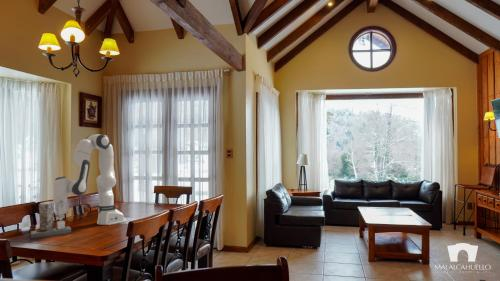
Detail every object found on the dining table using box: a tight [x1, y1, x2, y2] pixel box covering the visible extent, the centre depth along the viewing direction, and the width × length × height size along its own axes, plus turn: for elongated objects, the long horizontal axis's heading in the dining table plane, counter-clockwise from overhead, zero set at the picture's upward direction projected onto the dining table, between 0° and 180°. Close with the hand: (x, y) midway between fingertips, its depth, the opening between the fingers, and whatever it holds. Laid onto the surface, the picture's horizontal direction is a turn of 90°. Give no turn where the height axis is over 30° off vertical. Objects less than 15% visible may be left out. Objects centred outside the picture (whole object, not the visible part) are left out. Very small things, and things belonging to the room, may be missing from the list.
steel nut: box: [56, 220, 66, 230], centre depth 251 cm, size 4×4×8 cm
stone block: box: [38, 201, 55, 230], centre depth 263 cm, size 13×7×20 cm, turn 14°
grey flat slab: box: [30, 225, 72, 239], centre depth 247 cm, size 24×10×3 cm, turn 125°
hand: (59, 219), depth 250 cm, fingers open, 8 cm apart
